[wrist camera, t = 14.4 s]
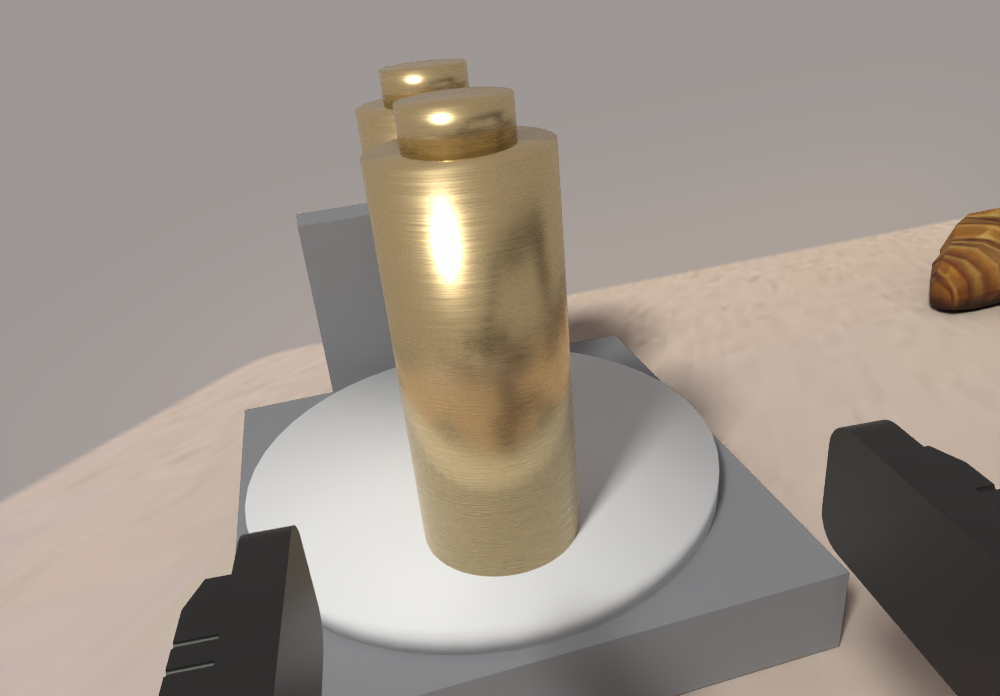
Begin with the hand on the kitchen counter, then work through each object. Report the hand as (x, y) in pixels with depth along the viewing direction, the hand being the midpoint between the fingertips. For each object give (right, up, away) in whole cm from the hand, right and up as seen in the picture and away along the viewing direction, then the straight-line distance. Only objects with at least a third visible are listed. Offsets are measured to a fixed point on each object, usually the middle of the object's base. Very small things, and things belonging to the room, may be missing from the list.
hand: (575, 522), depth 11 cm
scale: (-2, -4, +20) cm, 21 cm away
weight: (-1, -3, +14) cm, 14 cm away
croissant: (+29, +6, +36) cm, 47 cm away
